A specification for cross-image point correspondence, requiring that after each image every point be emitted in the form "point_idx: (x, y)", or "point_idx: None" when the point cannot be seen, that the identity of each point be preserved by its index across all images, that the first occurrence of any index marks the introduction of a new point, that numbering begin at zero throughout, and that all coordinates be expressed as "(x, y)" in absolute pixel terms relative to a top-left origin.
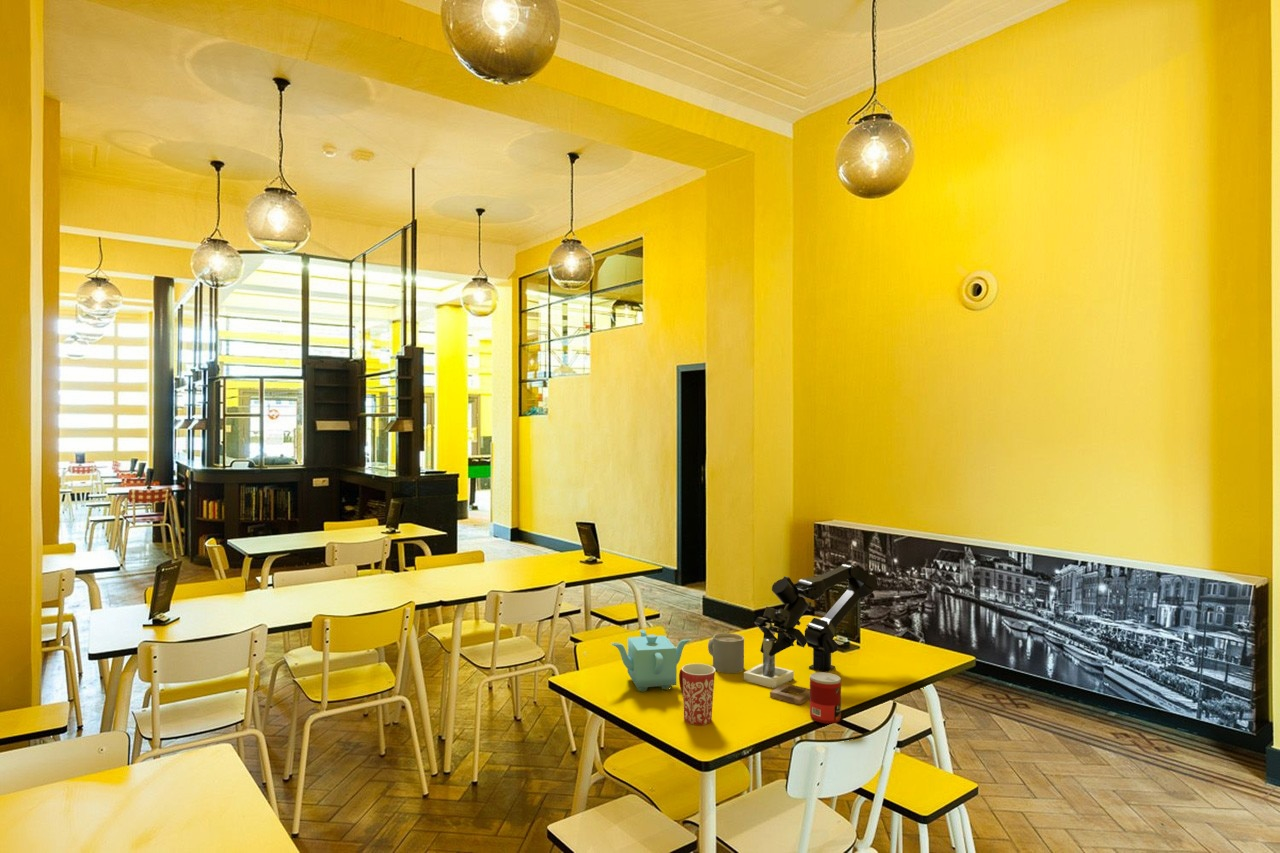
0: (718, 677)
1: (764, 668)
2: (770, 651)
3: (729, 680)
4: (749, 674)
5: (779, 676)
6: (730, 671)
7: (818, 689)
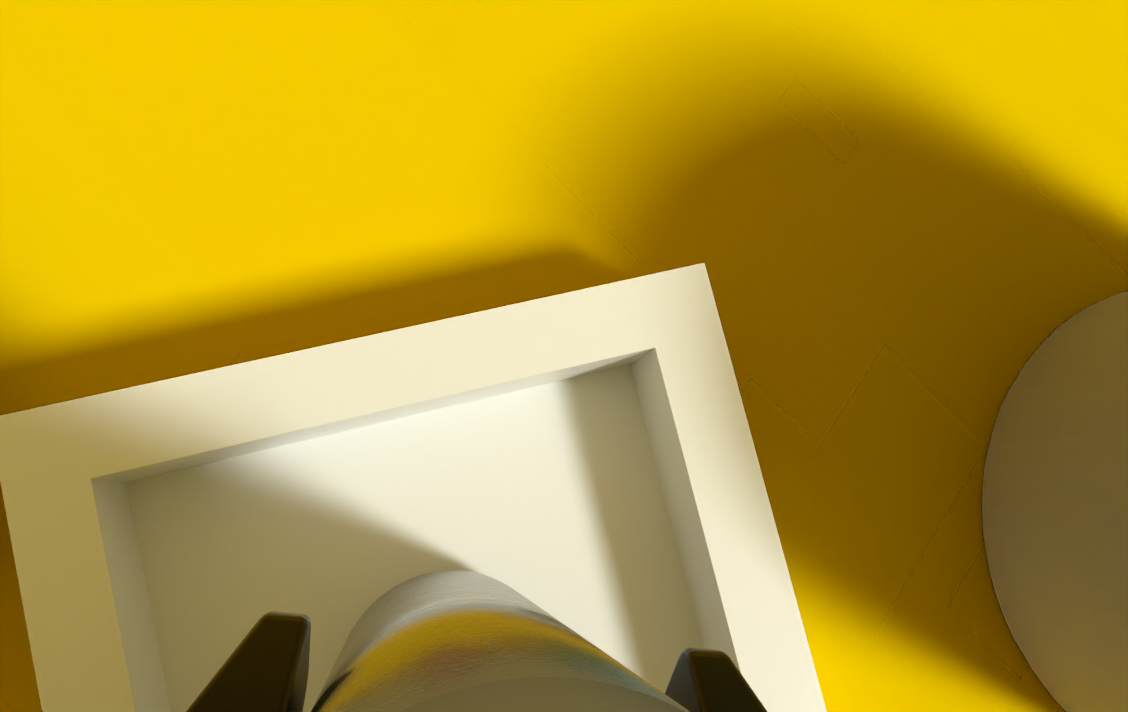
0: (971, 104)
1: (472, 580)
2: (261, 681)
3: (792, 134)
4: (588, 292)
5: (106, 653)
6: (1034, 371)
7: None
